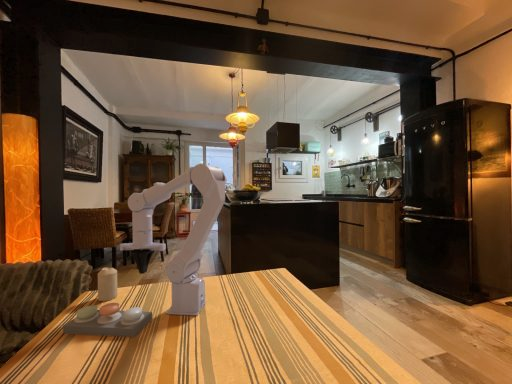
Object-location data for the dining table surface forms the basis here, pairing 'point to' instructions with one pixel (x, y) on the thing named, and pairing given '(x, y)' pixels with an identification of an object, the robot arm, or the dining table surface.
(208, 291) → the dining table surface
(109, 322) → the button board
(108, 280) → the candle
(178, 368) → the dining table surface
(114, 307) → the terracotta button
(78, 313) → the green button
